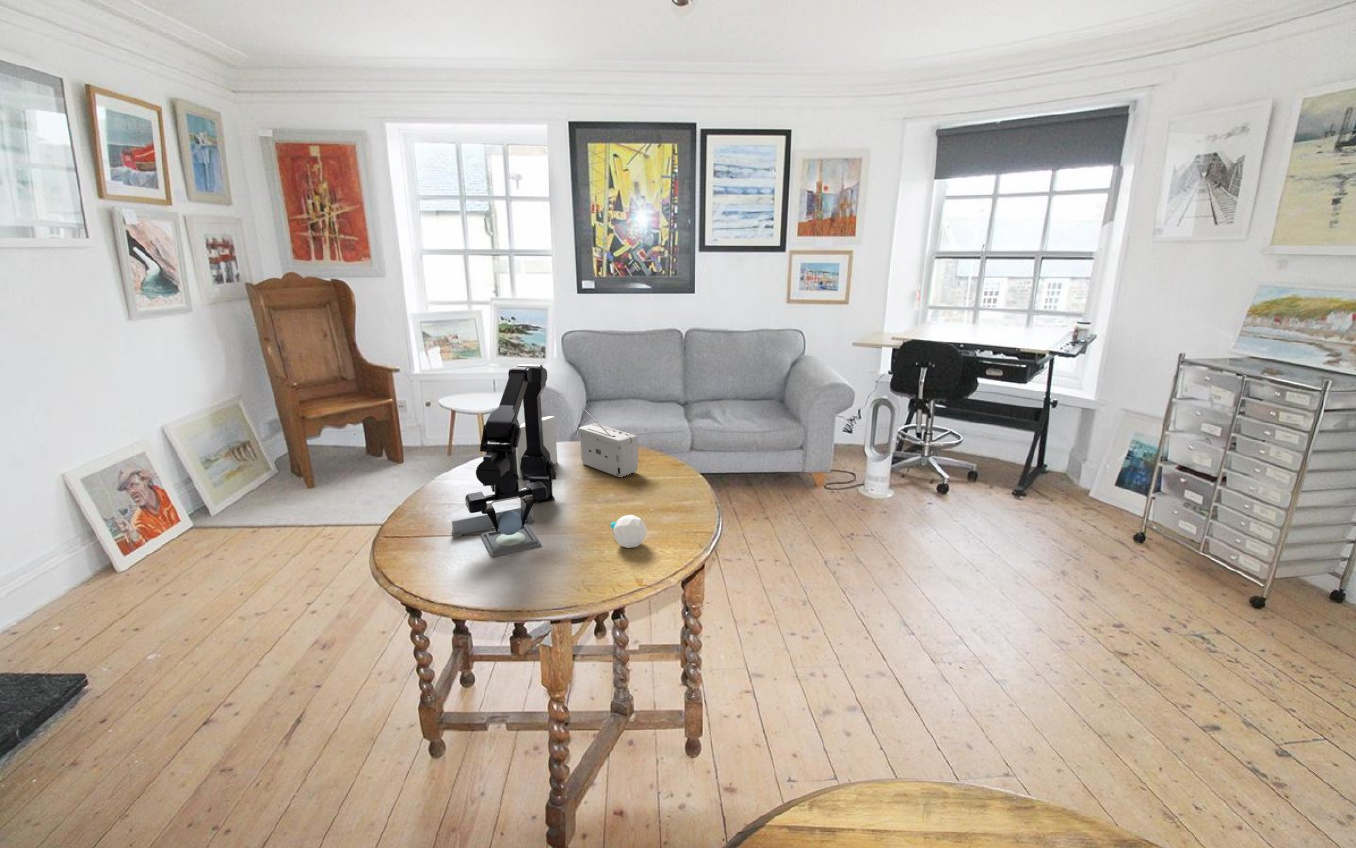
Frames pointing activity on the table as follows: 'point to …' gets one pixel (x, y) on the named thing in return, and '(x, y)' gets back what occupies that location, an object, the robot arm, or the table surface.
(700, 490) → the table surface
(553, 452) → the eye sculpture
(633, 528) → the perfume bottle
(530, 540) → the gray square tray
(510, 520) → the ball
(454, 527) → the long gray bar
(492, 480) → the robot arm
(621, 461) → the stereo radio cassette player
